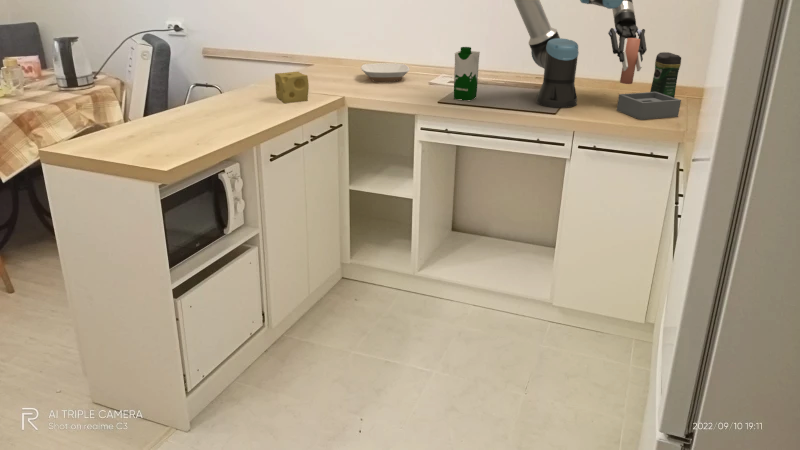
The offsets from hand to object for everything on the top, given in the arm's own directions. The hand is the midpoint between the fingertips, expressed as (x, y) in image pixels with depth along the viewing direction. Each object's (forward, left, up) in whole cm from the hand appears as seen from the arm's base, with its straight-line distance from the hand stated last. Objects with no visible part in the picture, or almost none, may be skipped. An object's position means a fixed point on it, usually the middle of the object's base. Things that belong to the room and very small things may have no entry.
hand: (632, 68), depth 233 cm
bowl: (-72, +77, -15) cm, 106 cm away
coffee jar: (+21, +7, -15) cm, 26 cm away
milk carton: (-52, +32, -15) cm, 63 cm away
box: (+3, -8, -15) cm, 17 cm away
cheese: (-118, +49, -15) cm, 129 cm away
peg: (+1, +4, -6) cm, 7 cm away
